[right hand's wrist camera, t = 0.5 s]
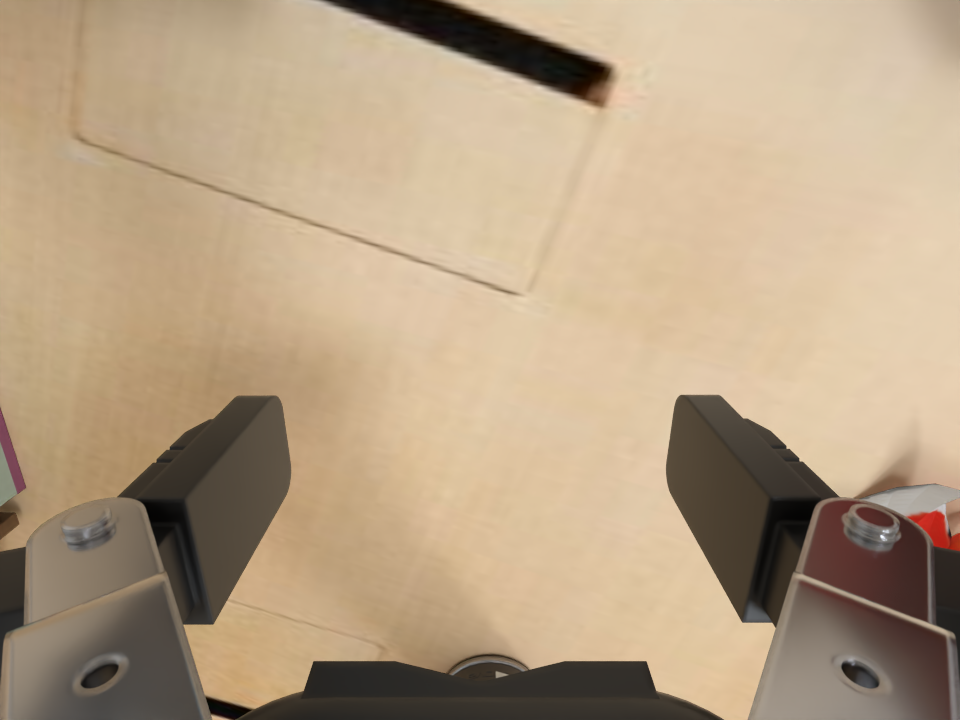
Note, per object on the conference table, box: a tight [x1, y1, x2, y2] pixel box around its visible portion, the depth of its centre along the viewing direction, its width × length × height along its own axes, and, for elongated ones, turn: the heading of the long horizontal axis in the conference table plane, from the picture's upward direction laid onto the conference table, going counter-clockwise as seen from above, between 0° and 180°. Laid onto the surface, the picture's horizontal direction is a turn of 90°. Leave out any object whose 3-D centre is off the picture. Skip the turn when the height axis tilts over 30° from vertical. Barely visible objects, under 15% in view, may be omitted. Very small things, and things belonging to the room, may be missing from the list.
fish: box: [860, 484, 960, 551], centre depth 43 cm, size 11×16×10 cm
